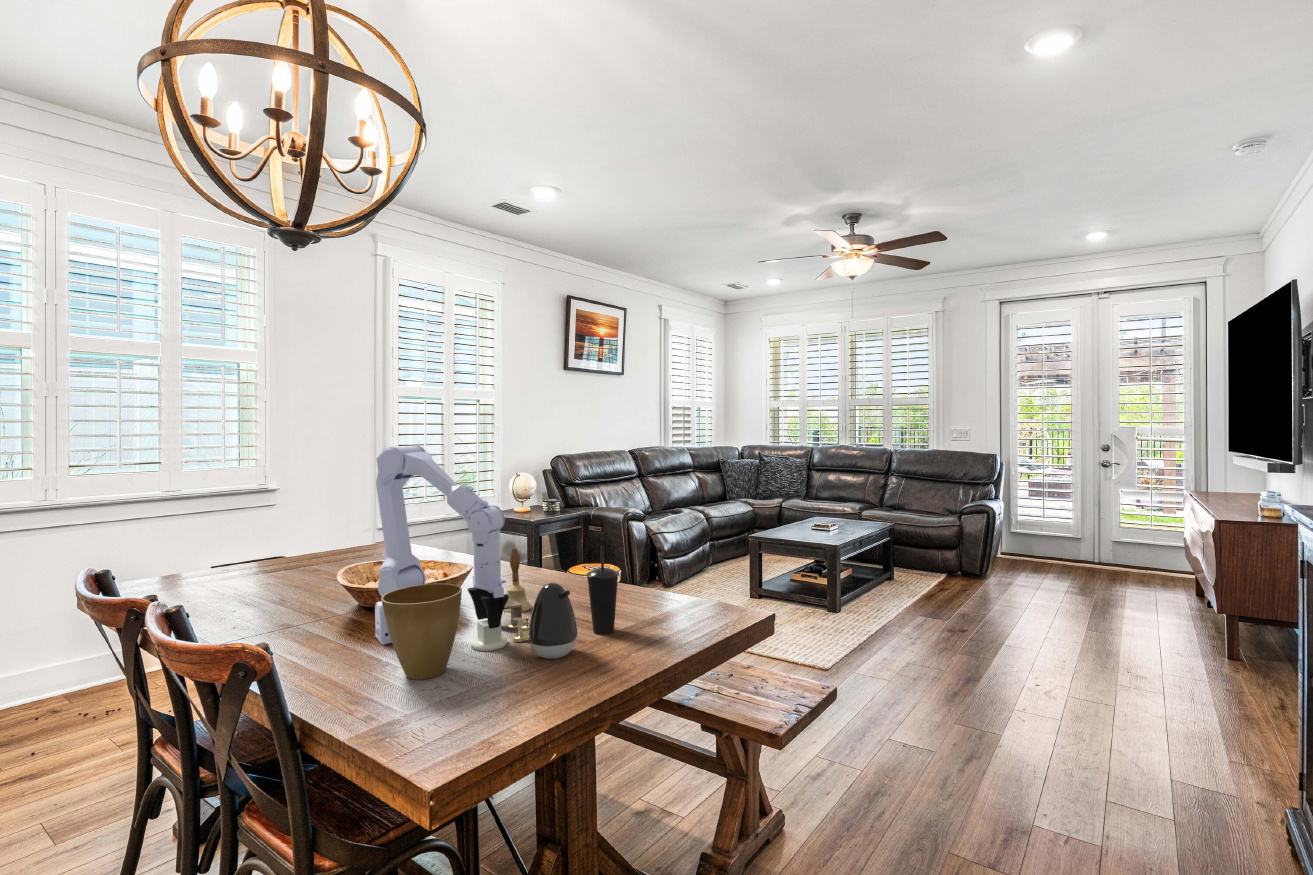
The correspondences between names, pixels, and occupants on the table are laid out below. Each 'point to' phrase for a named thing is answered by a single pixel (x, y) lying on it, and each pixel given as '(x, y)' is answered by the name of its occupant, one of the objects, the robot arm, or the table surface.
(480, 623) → the block
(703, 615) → the table surface
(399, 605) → the plant pot
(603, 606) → the drinking cup
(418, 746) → the table surface
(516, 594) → the hand bell
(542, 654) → the pump dispenser
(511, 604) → the cover
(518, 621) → the balance
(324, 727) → the table surface
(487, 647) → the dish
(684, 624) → the table surface
